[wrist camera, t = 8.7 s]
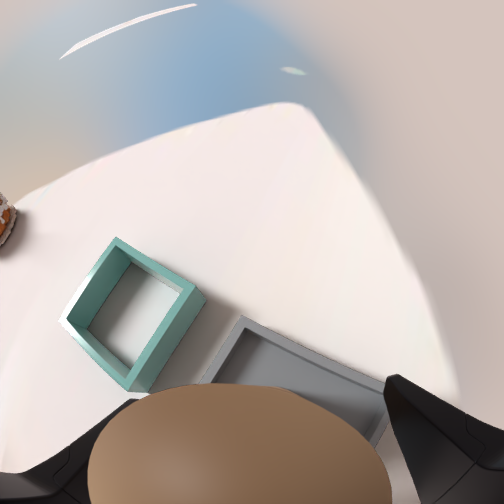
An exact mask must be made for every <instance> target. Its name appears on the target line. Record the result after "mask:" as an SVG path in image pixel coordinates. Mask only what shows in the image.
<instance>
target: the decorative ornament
mask: <svg viewBox="0 0 504 504" xmlns="http://www.w3.org/2000/svg"><path fill="white" fill-rule="evenodd" d="M7 202H8V201H7V199H6V198H5V197H4V196H3V195H2V194H1V192H0V246H1V244H3V243H4V242H5V240H6V239H7V237H8V236H9V234H10V233H11V231H10V230H11V228H12V227H13V225H14V224H13V223H14V222H15V218H16V214H15V213H16V212H17V210H16V209H15V207H14V206H13V205H11V207H10V206H8V205H7V204H6V203H7Z"/></svg>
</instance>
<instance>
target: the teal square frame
mask: <svg viewBox="0 0 504 504" xmlns="http://www.w3.org/2000/svg"><path fill="white" fill-rule="evenodd" d="M131 262H133V263H134V264H136V265H137V266H138V267H140V268H141V269H143V270H144V271H146V272H147V273H149V274H151V275H152V276H154V277H155V278H157V279H158V280H160V281H161V282H163V283H164V284H166V285H168V286H169V287H171V288H172V289H174V290H175V291H177V292H179V293H180V295H179V297H178V298H177V300H176V301H175V302H174V304H173V305H172V307H171V308H170V310H169V311H168V313H167V315H166V316H165V318H164V319H163V321H162V322H161V324H160V325H159V327H158V328H157V330H156V331H155V333H154V334H153V336H152V337H151V339H150V341H149V342H148V344H147V345H146V347H145V348H144V350H143V351H142V353H141V355H140V356H139V358H138V359H137V361H136V362H135V364H134V366H133V367H132V369H131V370H130V369H129V368H128V367H126V366H125V365H124V364H123V363H122V362H121V361H120V360H119V359H117V358H116V357H115V356H114V355H113V354H112V353H111V352H110V351H109V350H108V349H107V348H106V347H104V346H103V345H102V344H101V343H100V342H99V341H98V340H97V339H96V338H95V337H94V336H93V335H92V334H91V333H90V332H89V331H88V330H87V328H88V326H89V325H90V323H91V321H92V320H93V318H94V317H95V315H96V314H97V312H98V310H99V309H100V307H101V306H102V304H103V303H104V301H105V300H106V298H107V297H108V295H109V294H110V292H111V291H112V289H113V288H114V286H115V285H116V283H117V282H118V281H119V279H120V278H121V276H122V275H123V273H124V272H125V271H126V269H127V268H128V266H129V265H130V264H131ZM206 301H207V300H206V299H205V298H204V296H203V295H202V294H201V292H200V291H199V290H198V288H197V287H196V286H195V285H193V284H192V283H190V282H188V281H187V280H185V279H183V278H182V277H180V276H178V275H176V274H175V273H173V272H171V271H170V270H168V269H167V268H165V267H163V266H162V265H160V264H158V263H157V262H155V261H153V260H152V259H150V258H149V257H147V256H145V255H144V254H142V253H141V252H139V251H137V250H136V249H134V248H133V247H131V246H130V245H128V244H127V243H125V242H123V241H122V240H120V239H119V238H117V237H115V238H114V239H113V241H112V242H111V243H110V245H109V246H108V247H107V249H106V250H105V251H104V253H103V254H102V255H101V257H100V258H99V260H98V261H97V262H96V264H95V265H94V267H93V268H92V269H91V271H90V272H89V274H88V275H87V277H86V278H85V280H84V281H83V283H82V284H81V286H80V287H79V289H78V290H77V292H76V293H75V295H74V296H73V298H72V300H71V301H70V303H69V304H68V306H67V308H66V309H65V311H64V312H63V314H62V316H61V317H60V319H59V322H60V323H61V324H62V325H63V326H64V328H65V329H66V330H67V331H68V332H69V334H70V335H71V336H72V337H73V338H74V339H75V340H76V342H77V343H78V344H79V345H80V346H81V347H82V348H83V349H84V350H85V351H86V352H87V353H88V355H89V356H90V357H91V358H92V359H93V360H94V361H95V362H96V363H97V364H98V365H99V366H100V367H101V368H102V369H103V370H104V371H105V372H106V373H107V374H108V375H109V376H111V377H112V378H113V379H114V380H115V381H116V382H117V383H118V384H119V385H120V386H121V387H123V388H124V389H125V390H126V391H127V392H141V393H147V392H148V391H149V389H150V388H151V386H152V384H153V383H154V381H155V380H156V378H157V377H158V375H159V373H160V372H161V370H162V369H163V367H164V366H165V364H166V362H167V361H168V359H169V358H170V356H171V355H172V353H173V352H174V350H175V348H176V347H177V345H178V344H179V342H180V341H181V339H182V338H183V336H184V334H185V333H186V331H187V330H188V328H189V327H190V325H191V324H192V322H193V321H194V319H195V317H196V316H197V314H198V313H199V311H200V310H201V308H202V307H203V305H204V304H205V302H206Z"/></svg>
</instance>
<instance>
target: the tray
mask: <svg viewBox="0 0 504 504" xmlns="http://www.w3.org/2000/svg"><path fill="white" fill-rule="evenodd" d="M207 383H222V384H243V385H257V386H275V387H281V388H285V389H287V390H289V391H291V392H293V393H295V394H297V395H299V396H300V397H302V398H304V399H306V400H308V401H310V402H312V403H314V404H316V405H318V406H320V407H322V408H324V409H326V410H327V411H329V412H331V413H332V414H334V415H336V416H338V417H339V418H341V419H342V420H344V421H345V422H346V423H348V424H349V425H350V426H352V427H353V428H354V429H356V430H357V431H358V432H359V433H360V434H361V435H362V436H363V437H364V438H365V439H366V440H367V441H368V442H369V443H370V444H371V446H372V447H373V448H375V446H376V445H377V443H378V441H379V439H380V438H381V436H382V434H383V432H384V430H385V428H386V426H387V424H388V422H389V420H390V418H389V414H388V411H387V407H386V404H385V400H384V397H383V391H384V387H385V383H383V382H380V381H378V380H375V379H373V378H371V377H368V376H366V375H364V374H361V373H359V372H357V371H355V370H352V369H350V368H348V367H346V366H344V365H341V364H339V363H337V362H335V361H333V360H330V359H328V358H326V357H324V356H322V355H320V354H318V353H316V352H314V351H311V350H309V349H307V348H305V347H303V346H301V345H299V344H297V343H295V342H293V341H291V340H289V339H287V338H285V337H283V336H281V335H279V334H277V333H275V332H273V331H271V330H270V329H268V328H266V327H264V326H262V325H260V324H258V323H256V322H254V321H252V320H251V319H249V318H247V317H245V316H243V315H241V317H240V318H239V320H238V322H237V323H236V325H235V327H234V328H233V330H232V331H231V333H230V335H229V336H228V338H227V340H226V341H225V343H224V344H223V346H222V348H221V349H220V351H219V352H218V354H217V356H216V357H215V359H214V360H213V362H212V364H211V365H210V367H209V368H208V370H207V371H206V373H205V375H204V376H203V378H202V379H201V381H200V382H199V384H207Z"/></svg>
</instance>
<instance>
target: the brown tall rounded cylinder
mask: <svg viewBox="0 0 504 504" xmlns="http://www.w3.org/2000/svg"><path fill="white" fill-rule="evenodd" d="M88 489H89V496H90V500H91V503H92V504H392V490H391V484H390V481H389V477H388V473H387V471H386V469H385V467H384V464H383V462H382V460H381V458H380V457H379V455H378V454H377V453H376V451H375V450H374V448H373V447H372V446H371V444H370V443H369V442H368V441H367V440H366V439H365V438H364V437H363V436H362V435H361V434H360V433H359V432H358V431H357V430H356V429H354V428H353V427H352V426H350V425H349V424H348V423H346V422H345V421H344V420H342V419H341V418H339V417H338V416H336V415H334V414H332V413H331V412H329V411H327V410H326V409H324V408H322V407H320V406H318V405H316V404H314V403H312V402H310V401H308V400H306V399H304V398H302V397H300V396H299V395H297V394H295V393H293V392H291V391H289V390H287V389H285V388H281V387H275V386H257V385H243V384H222V383H207V384H194V385H186V386H181V387H175V388H170V389H166V390H163V391H160V392H157V393H154V394H151V395H148V396H146V397H144V398H142V399H140V400H138V401H136V402H134V403H132V404H131V405H129V406H128V407H126V408H125V409H123V410H122V411H120V412H119V413H118V414H117V415H116V416H115V417H114V418H113V419H112V420H110V421H109V423H108V424H107V425H106V426H105V428H104V429H103V430H102V432H101V433H100V435H99V437H98V438H97V440H96V442H95V444H94V447H93V449H92V452H91V455H90V459H89V465H88Z"/></svg>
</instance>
